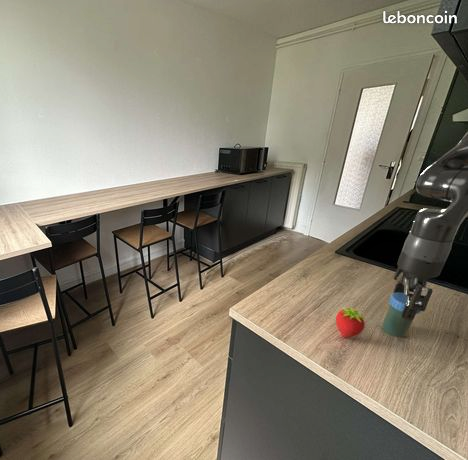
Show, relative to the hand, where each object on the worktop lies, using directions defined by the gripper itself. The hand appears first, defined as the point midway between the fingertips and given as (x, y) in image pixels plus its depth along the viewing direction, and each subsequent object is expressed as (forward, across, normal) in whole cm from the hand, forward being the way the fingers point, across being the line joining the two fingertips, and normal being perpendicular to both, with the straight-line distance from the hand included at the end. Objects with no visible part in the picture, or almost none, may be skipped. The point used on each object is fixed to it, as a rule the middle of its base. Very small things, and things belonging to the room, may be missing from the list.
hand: (401, 307), depth 66 cm
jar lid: (-3, 0, 0) cm, 3 cm away
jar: (+7, +1, 0) cm, 7 cm away
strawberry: (+7, +9, -12) cm, 17 cm away
